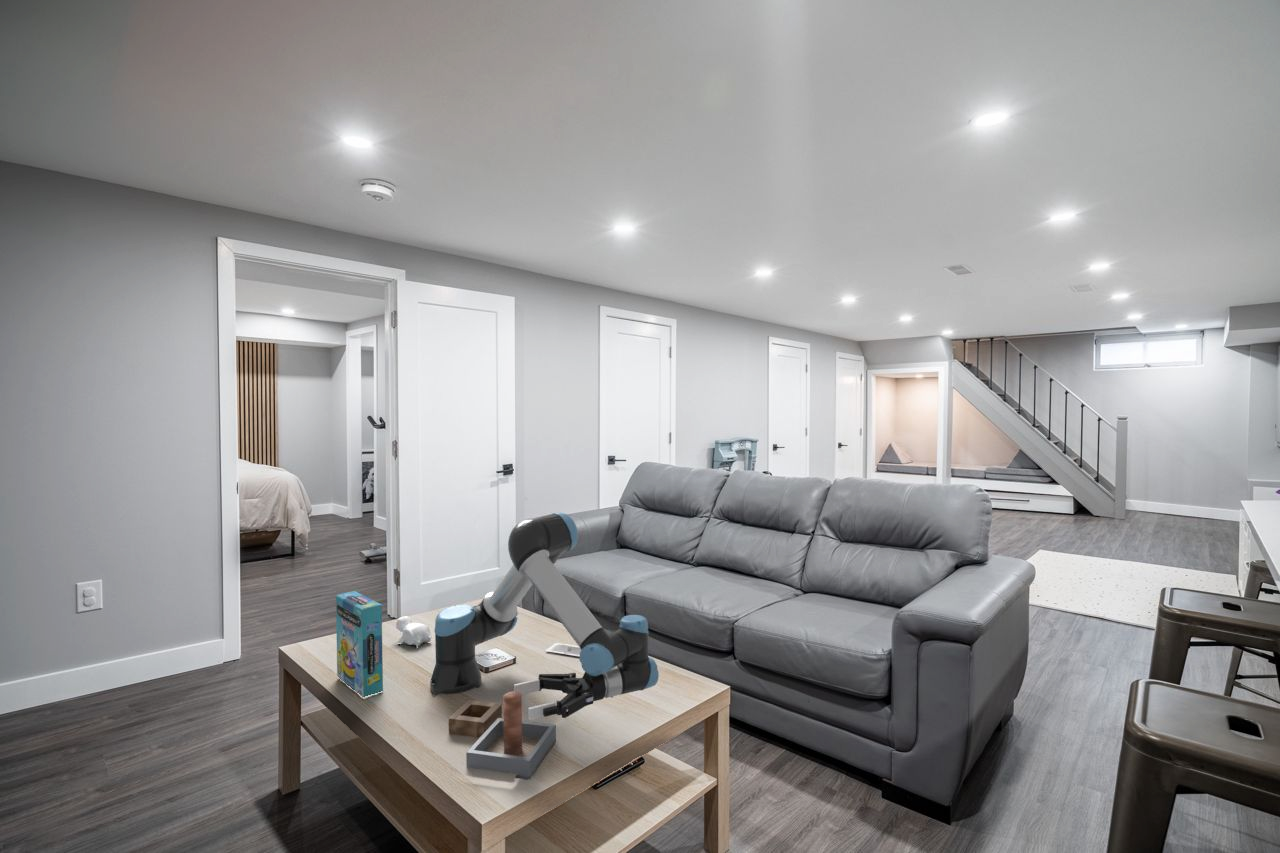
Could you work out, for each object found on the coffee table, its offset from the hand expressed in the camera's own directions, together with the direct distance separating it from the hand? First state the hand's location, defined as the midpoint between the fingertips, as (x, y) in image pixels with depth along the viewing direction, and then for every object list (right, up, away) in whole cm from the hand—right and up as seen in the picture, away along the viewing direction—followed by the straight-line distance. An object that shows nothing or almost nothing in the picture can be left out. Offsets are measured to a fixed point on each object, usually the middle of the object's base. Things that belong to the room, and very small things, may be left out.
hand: (521, 701), depth 144 cm
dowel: (-2, -12, 0) cm, 12 cm away
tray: (-2, -13, 0) cm, 13 cm away
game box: (-58, -13, +38) cm, 71 cm away
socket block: (-14, -13, +12) cm, 23 cm away
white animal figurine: (-55, -13, +73) cm, 93 cm away
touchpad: (+4, -12, +63) cm, 64 cm away
